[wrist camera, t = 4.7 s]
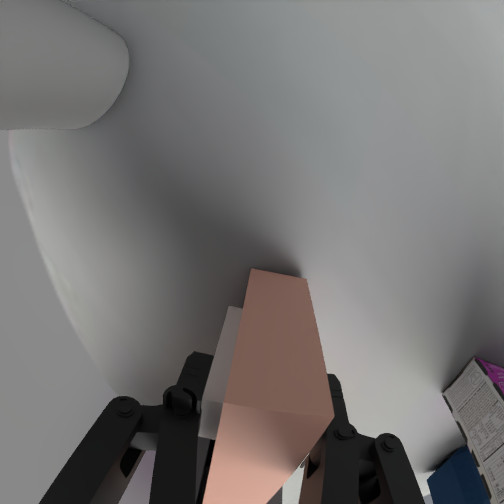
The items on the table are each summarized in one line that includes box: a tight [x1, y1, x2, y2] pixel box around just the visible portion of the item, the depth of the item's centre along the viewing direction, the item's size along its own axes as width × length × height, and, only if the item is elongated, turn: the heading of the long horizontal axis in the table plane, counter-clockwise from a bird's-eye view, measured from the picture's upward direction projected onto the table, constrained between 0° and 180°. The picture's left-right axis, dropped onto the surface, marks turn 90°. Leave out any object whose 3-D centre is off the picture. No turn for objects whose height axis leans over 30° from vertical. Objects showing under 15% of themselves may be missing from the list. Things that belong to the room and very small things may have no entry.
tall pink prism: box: [202, 268, 334, 504], centre depth 13 cm, size 16×3×9 cm, turn 169°
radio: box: [427, 446, 491, 504], centre depth 13 cm, size 21×9×20 cm, turn 85°
